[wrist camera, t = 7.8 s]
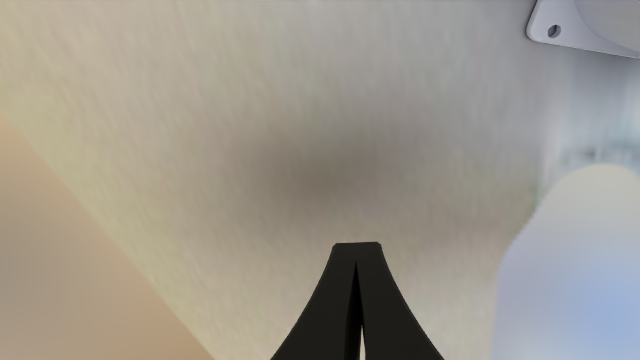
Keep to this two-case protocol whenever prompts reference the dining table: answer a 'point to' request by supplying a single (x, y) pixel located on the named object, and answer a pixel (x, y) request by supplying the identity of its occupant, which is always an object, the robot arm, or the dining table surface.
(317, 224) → the dining table surface
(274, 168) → the dining table surface
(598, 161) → the dining table surface
